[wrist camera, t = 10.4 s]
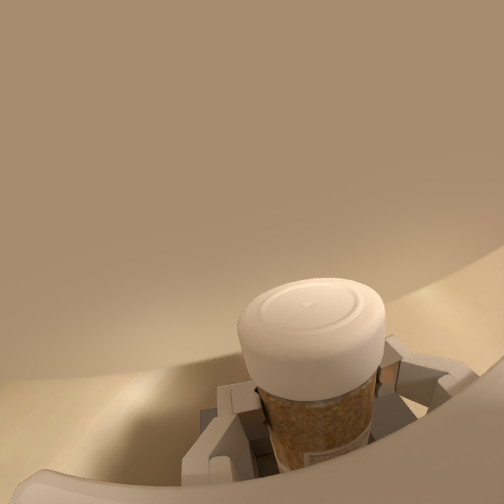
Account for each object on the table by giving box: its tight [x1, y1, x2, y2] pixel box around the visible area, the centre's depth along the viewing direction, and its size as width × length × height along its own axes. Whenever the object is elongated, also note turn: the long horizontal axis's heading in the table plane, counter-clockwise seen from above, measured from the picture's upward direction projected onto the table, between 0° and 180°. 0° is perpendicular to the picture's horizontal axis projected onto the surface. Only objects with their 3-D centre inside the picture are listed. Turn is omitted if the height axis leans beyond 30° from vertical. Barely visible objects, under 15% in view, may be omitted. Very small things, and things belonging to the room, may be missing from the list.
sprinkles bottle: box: [237, 278, 385, 474], centre depth 10 cm, size 5×5×14 cm
